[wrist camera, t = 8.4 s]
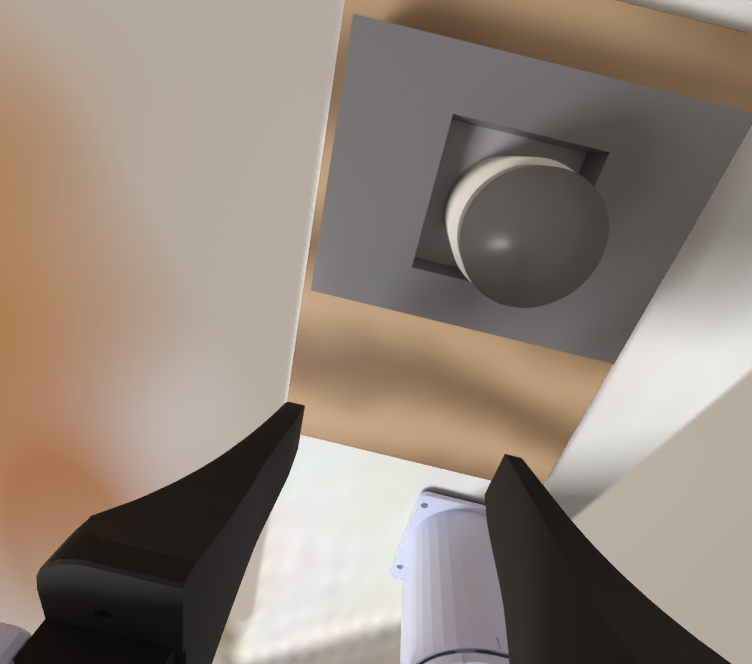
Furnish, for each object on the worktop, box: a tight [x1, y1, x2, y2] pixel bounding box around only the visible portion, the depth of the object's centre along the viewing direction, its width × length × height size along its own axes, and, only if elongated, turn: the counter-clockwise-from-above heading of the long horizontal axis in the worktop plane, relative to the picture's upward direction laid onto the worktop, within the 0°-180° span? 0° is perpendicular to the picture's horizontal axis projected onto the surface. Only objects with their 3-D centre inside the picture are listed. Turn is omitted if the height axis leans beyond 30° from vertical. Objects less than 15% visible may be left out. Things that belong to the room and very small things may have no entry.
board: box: [287, 0, 752, 485], centre depth 20 cm, size 24×17×1 cm
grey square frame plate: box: [311, 14, 752, 364], centre depth 16 cm, size 14×10×3 cm
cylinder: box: [444, 156, 609, 308], centre depth 14 cm, size 4×4×6 cm
